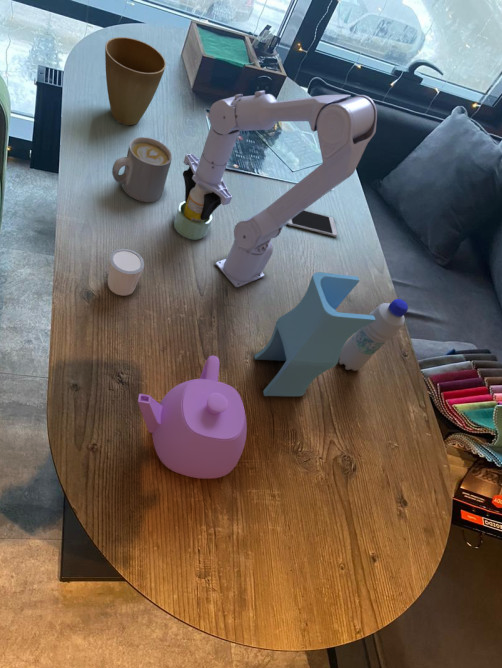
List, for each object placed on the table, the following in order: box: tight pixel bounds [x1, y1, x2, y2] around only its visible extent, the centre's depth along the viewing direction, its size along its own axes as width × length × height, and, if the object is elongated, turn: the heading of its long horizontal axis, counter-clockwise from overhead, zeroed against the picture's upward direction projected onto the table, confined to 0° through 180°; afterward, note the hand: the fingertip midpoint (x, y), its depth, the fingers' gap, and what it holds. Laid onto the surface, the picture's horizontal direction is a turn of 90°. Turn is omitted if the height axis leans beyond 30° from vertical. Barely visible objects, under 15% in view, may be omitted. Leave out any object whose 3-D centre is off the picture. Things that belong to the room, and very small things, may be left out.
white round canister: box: [107, 248, 145, 296], centre depth 102 cm, size 7×7×7 cm
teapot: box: [137, 355, 248, 480], centre depth 85 cm, size 20×20×15 cm
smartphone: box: [286, 209, 338, 237], centre depth 136 cm, size 8×1×15 cm
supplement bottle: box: [183, 183, 212, 223], centre depth 115 cm, size 5×5×10 cm
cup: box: [173, 200, 213, 241], centre depth 119 cm, size 8×8×4 cm
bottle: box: [338, 298, 409, 372], centre depth 105 cm, size 7×7×20 cm
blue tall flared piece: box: [253, 271, 376, 397], centre depth 95 cm, size 10×10×25 cm
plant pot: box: [104, 36, 167, 126], centre depth 129 cm, size 15×15×16 cm
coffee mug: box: [111, 136, 173, 203], centre depth 118 cm, size 13×10×10 cm
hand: (196, 209), depth 117 cm, fingers closed on supplement bottle, 5 cm apart
